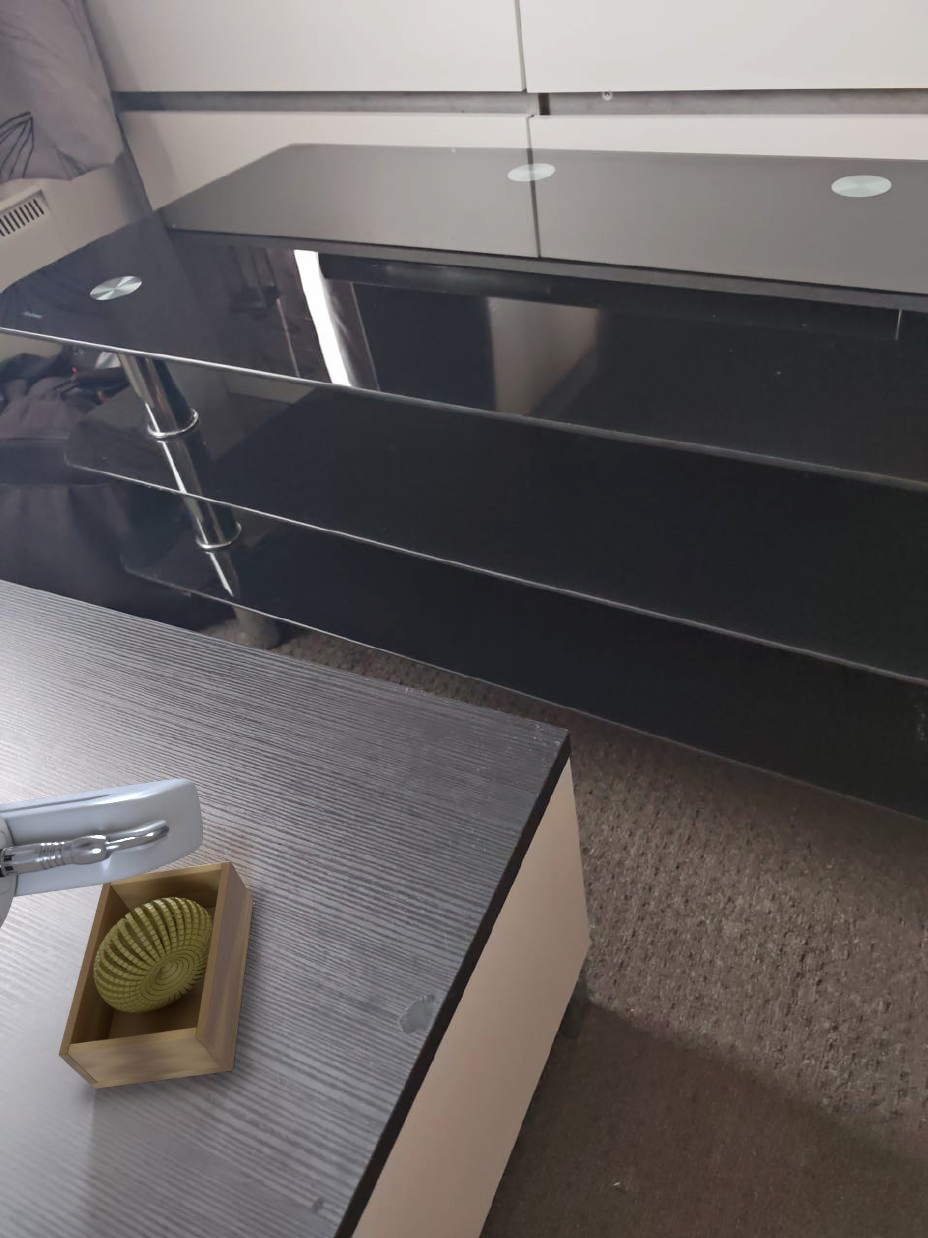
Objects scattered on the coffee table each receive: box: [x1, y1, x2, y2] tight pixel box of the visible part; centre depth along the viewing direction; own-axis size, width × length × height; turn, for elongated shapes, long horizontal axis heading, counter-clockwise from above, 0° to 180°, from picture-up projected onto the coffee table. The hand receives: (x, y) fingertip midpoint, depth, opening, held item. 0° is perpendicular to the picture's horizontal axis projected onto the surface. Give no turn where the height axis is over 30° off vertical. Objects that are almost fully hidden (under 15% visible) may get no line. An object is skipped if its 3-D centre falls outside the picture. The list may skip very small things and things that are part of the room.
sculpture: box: [94, 897, 213, 1013], centre depth 60 cm, size 8×4×8 cm, turn 131°
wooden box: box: [58, 860, 254, 1090], centre depth 62 cm, size 9×12×5 cm
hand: (61, 821), depth 51 cm, fingers open, 8 cm apart
